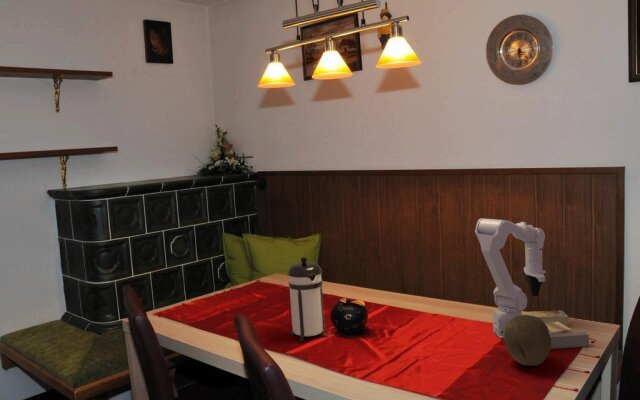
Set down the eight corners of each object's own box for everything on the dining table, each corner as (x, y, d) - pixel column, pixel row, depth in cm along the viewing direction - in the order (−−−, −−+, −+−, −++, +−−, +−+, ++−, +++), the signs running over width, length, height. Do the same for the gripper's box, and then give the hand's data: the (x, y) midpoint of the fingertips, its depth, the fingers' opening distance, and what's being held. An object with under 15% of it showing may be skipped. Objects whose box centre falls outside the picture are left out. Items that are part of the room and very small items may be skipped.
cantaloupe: (562, 368, 165) (562, 320, 164) (522, 376, 162) (521, 327, 160) (532, 351, 179) (531, 306, 177) (494, 358, 175) (493, 313, 173)
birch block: (552, 346, 183) (552, 331, 182) (539, 337, 190) (539, 323, 190) (571, 343, 184) (571, 329, 183) (558, 335, 191) (557, 321, 191)
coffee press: (336, 329, 211) (331, 252, 207) (318, 344, 197) (313, 262, 193) (296, 325, 218) (290, 251, 215) (276, 339, 204) (270, 260, 200)
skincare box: (568, 315, 197) (533, 317, 198) (568, 327, 198) (533, 328, 199) (561, 309, 204) (528, 311, 204) (561, 321, 204) (528, 322, 205)
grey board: (528, 350, 180) (528, 338, 179) (525, 347, 182) (525, 335, 182) (588, 346, 180) (588, 334, 180) (585, 343, 183) (585, 331, 182)
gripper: (553, 263, 194) (554, 300, 196) (536, 254, 209) (537, 289, 210) (533, 265, 194) (534, 302, 196) (518, 255, 209) (519, 290, 210)
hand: (534, 295), depth 203 cm, fingers closed
